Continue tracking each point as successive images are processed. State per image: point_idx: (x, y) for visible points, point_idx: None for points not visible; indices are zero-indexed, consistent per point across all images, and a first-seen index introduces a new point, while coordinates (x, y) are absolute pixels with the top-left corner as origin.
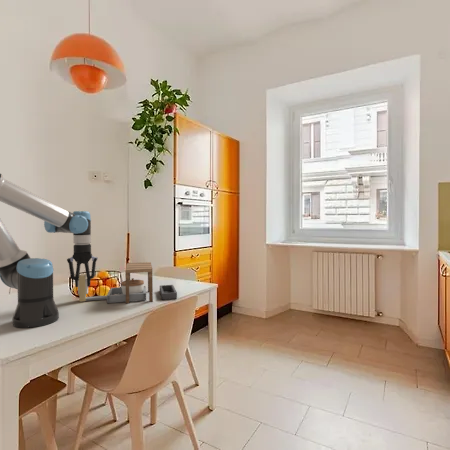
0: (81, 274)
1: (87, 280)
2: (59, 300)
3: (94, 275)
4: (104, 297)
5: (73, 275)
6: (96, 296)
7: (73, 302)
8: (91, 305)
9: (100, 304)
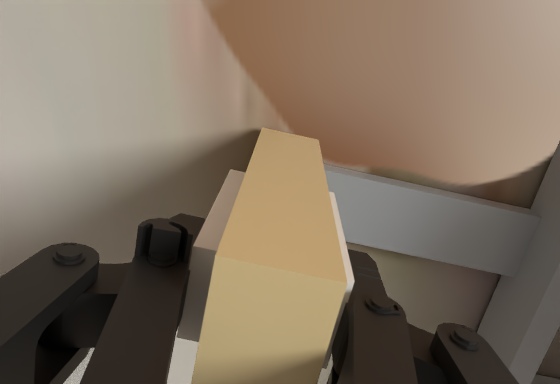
0: (227, 312)
1: (335, 340)
2: (42, 46)
3: (492, 366)
4: (477, 268)
5: (59, 377)
6: (413, 195)
7: (188, 201)
8: (330, 365)
9: None
